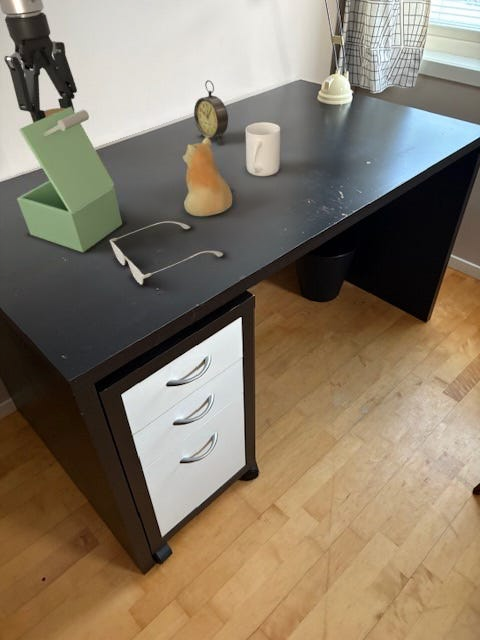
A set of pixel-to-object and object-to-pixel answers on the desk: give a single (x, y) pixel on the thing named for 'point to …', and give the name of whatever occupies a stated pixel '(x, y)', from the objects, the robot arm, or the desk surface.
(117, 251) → the eyeglasses
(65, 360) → the desk surface
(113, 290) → the desk surface
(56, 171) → the green box lid
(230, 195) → the figurine
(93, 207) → the green rectangular box
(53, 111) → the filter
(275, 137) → the mug
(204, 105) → the alarm clock
